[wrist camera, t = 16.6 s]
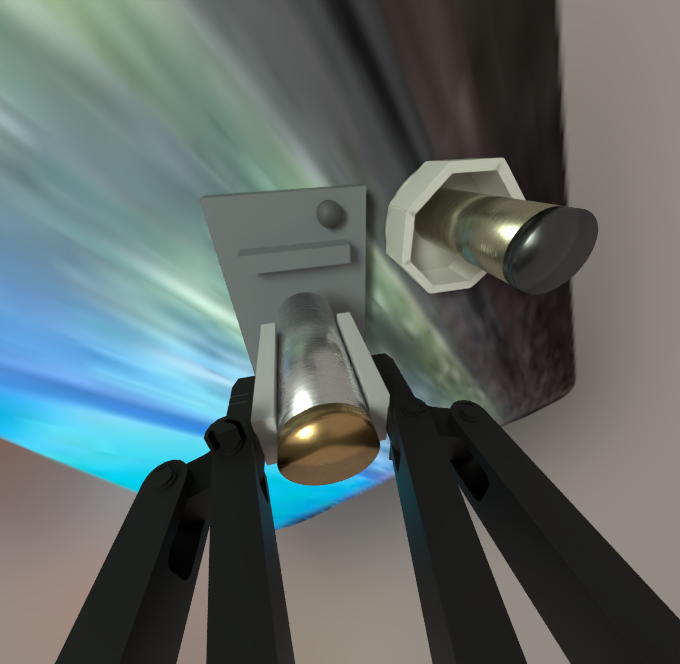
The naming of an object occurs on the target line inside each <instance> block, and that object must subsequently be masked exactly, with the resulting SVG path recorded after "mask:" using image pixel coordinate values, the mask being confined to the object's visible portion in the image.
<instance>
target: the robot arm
mask: <svg viewBox="0 0 680 664" xmlns="http://www.w3.org/2000/svg"><path fill="white" fill-rule="evenodd" d="M337 326H338V329H339V332H340V334H341V337H342V340H343V343H344V345H345V348H346V351H347V353H348V356H349V359H350V362H351V364H352V367H353V370H354V372H355V375H356V378H357V381H358V383H359V386H360V389H361V391H362V394H363V397H364V400H365V402H366V405H367V408H368V410H369V413H370V416H371V419H372V421H373V424H374V427H375V429H376V432H377V435H378V438H379V441H381V440H386V435H387V434H388V436H389V438H390V441H391V443H390V453H389V460H392V461H393V466H394V471H395V476H396V481H397V485H398V491H399V496H400V501H401V506H402V511H403V516H404V521H405V526H406V531H407V536H408V542H409V547H410V552H411V557H412V562H413V566H414V572H415V577H416V581H417V587H418V592H419V597H420V602H421V607H422V612H423V617H424V622H425V627H426V632H427V637H428V642H429V647H430V653H431V658H432V663H433V664H527V662H526V660H525V657H524V654H523V652H522V649H521V647H520V644H519V641H518V639H517V636H516V634H515V631H514V628H513V626H512V623H511V621H510V618H509V616H508V613H507V610H506V608H505V605H504V603H503V600H502V598H501V595H500V592H499V590H498V587H497V585H496V582H495V579H494V577H493V574H492V571H491V569H490V566H489V564H488V561H487V559H486V556H485V553H484V551H483V548H482V546H481V544H480V540H479V538H478V535H477V533H476V530H475V527H474V525H473V522H472V520H471V517H470V515H469V512H468V509H467V507H466V504H465V502H464V499H463V496H462V494H461V491H460V489H459V487H460V488H461V490H462V492H463V493H464V495H465V496H466V498H467V499H468V501H469V503H470V504H471V506H472V507H473V509H474V510H475V512H476V514H477V515H478V517H479V519H480V520H481V521H482V523H483V525H484V526H485V528H486V530H487V531H488V533H489V534H490V536H491V538H492V539H493V541H494V542H495V544H496V546H497V547H498V549H499V550H500V552H501V554H502V555H503V557H504V558H505V560H506V561H507V563H508V565H509V566H510V568H511V570H512V571H513V573H514V574H515V576H516V578H517V579H518V581H519V582H520V584H521V585H522V587H523V589H524V590H525V592H526V593H527V595H528V597H529V598H530V600H531V601H532V603H533V605H534V606H535V608H536V609H537V611H538V613H539V614H540V616H541V617H542V619H543V621H544V622H545V624H546V625H547V626H548V628H549V630H550V631H551V633H552V635H553V636H554V638H555V640H556V641H557V643H558V644H559V646H560V647H561V649H562V651H563V652H564V654H565V655H566V657H567V659H568V660H569V662H570V663H571V664H680V619H679V618H678V617H677V616H676V615H675V614H674V613H673V612H672V611H671V610H670V609H669V607H668V606H667V605H666V604H665V603H664V602H663V601H662V600H661V599H660V598H659V597H658V596H657V595H656V594H655V593H654V591H653V590H652V589H651V588H650V587H649V586H648V585H647V584H646V583H645V582H644V581H643V580H642V579H641V577H640V576H639V575H638V574H637V573H636V572H635V571H634V570H633V569H632V568H631V567H630V566H629V565H628V563H627V562H626V561H625V560H624V559H623V558H622V557H621V556H620V555H619V554H618V553H617V552H616V551H615V549H614V548H613V547H612V546H611V545H610V544H609V543H608V542H607V541H606V540H605V539H604V538H603V537H602V535H601V534H600V533H599V532H598V531H597V530H596V529H595V528H594V527H593V526H592V525H591V524H590V523H589V521H588V520H587V519H586V518H585V517H584V516H583V515H582V514H581V513H580V512H579V511H578V510H577V509H576V508H575V506H574V505H573V504H572V503H571V502H570V501H569V500H568V499H567V498H566V497H565V496H564V495H563V494H562V492H560V490H559V489H558V488H557V487H556V486H555V485H554V484H553V483H552V482H551V481H550V480H549V479H548V477H547V476H546V475H545V474H544V473H543V472H542V471H541V470H540V469H539V468H538V467H537V466H536V465H535V463H534V462H533V461H532V460H531V459H530V458H529V457H528V456H527V455H526V454H525V453H524V452H523V451H522V449H521V448H520V447H519V446H518V445H517V444H516V443H515V442H514V441H513V440H512V439H511V438H510V437H509V435H508V434H507V433H506V432H505V431H504V430H503V429H502V428H501V427H500V426H499V425H498V424H497V423H496V421H495V420H494V419H493V418H492V417H491V416H490V415H489V414H488V413H487V412H486V411H485V410H484V409H483V408H482V407H481V406H479V405H478V404H476V403H474V402H471V401H466V400H461V401H457V402H455V403H453V404H452V406H451V408H438V407H431V406H428V405H426V404H425V403H424V402H423V401H422V400H420V399H418V398H416V397H415V396H414V394H413V393H412V391H411V389H410V388H409V386H408V384H407V383H406V381H405V379H404V378H403V376H402V374H401V373H400V371H399V369H398V368H397V366H396V364H395V362H394V361H393V359H392V358H391V357H389V356H388V355H387V354H385V353H383V354H377V355H370V353H369V351H368V349H367V347H366V345H365V343H364V341H363V339H362V337H361V335H360V333H359V331H358V329H357V326H356V324H355V322H354V320H353V318H352V316H351V314H350V312H346V313H339V314H337ZM230 397H231V398H230V401H229V406H228V411H227V416H225V417H222V418H220V419H218V420H216V421H215V422H214V423H213V424H211V425H210V427H209V428H208V429H207V431H206V433H205V436H204V440H205V441H206V443H207V445H208V447H209V449H210V450H211V451H210V452H208V453H207V454H205V455H203V456H201V457H199V458H197V459H195V460H193V461H191V462H189V463H187V464H186V463H184V462H183V461H181V460H171V461H167V462H164V463H163V464H161V465H159V466H158V467H156V468H155V469H154V470H153V471H152V472H151V473H150V474H149V475H148V476H147V477H146V479H145V480H144V482H143V483H142V486H141V488H140V490H139V492H138V494H137V496H136V498H135V500H134V502H133V504H132V506H131V508H130V510H129V512H128V514H127V516H126V519H125V521H124V523H123V525H122V527H121V529H120V531H119V533H118V535H117V537H116V539H115V541H114V543H113V545H112V547H111V549H110V552H109V553H108V556H107V558H106V560H105V562H104V564H103V566H102V568H101V570H100V572H99V574H98V576H97V578H96V580H95V582H94V585H93V586H92V589H91V591H90V593H89V595H88V597H87V599H86V601H85V603H84V605H83V607H82V609H81V611H80V613H79V615H78V617H77V619H76V621H75V623H74V626H73V627H72V630H71V632H70V634H69V636H68V638H67V640H66V642H65V644H64V646H63V648H62V650H61V652H60V654H59V656H58V659H57V661H56V662H55V664H176V662H177V658H178V654H179V650H180V645H181V642H182V638H183V634H184V630H185V625H186V621H187V617H188V613H189V609H190V605H191V601H192V597H193V593H194V588H195V584H196V580H197V576H198V571H199V567H200V563H201V560H202V555H203V551H204V547H205V543H206V539H207V534H208V531H209V527H210V548H209V584H208V586H209V587H208V622H207V660H206V661H207V662H206V663H207V664H295V660H294V653H293V647H292V641H291V634H290V628H289V621H288V614H287V608H286V601H285V594H284V588H283V581H282V575H281V568H280V562H279V555H278V549H277V542H276V535H275V529H274V522H273V516H272V509H271V503H270V496H269V490H268V483H267V477H266V475H265V472H264V464H265V461H266V464H267V465H271V464H276V463H277V433H278V334H277V329H276V325H275V323H269V324H262V325H261V331H260V340H259V349H258V359H257V368H256V376H251V377H245V378H239V379H238V380H237V382H236V383H235V384H234V386H233V387H232V391H231V396H230ZM458 485H459V486H458Z"/></svg>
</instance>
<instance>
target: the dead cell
mask: <svg viewBox="0 0 680 664" xmlns="http://www.w3.org/2000/svg"><path fill="white" fill-rule="evenodd" d="M414 227H415V230H416V232H417V234H418V235H419V236H420V237H421V238H423V239H425V240H427V241H428V242H430V243H432V244H434V245H436V246H438V247H440V248H442V249H444V250H446V251H447V252H449V253H451V254H453V255H455V256H457V257H459V258H461V259H463V260H465V261H466V262H468V263H470V264H472V265H474V266H476V267H478V268H480V269H482V270H483V271H485V272H487V273H489V274H491V275H493V276H495V277H497V278H499V279H501V280H502V281H504V282H506V283H508V284H510V285H512V286H514V287H516V288H518V289H519V290H521V291H523V292H525V293H528V294H534V295H537V294H543V293H547V292H550V291H552V290H554V289H556V288H558V287H559V286H561V285H562V284H564V283H565V282H567V281H568V280H569V279H570V278H571V277H573V276H574V275H575V274H576V272H578V270H579V269H580V268H581V267H582V266H583V264H584V263H585V262H586V260H587V259H588V257H589V255H590V254H591V252H592V250H593V247H594V245H595V242H596V239H597V234H598V224H597V220H596V218H595V216H594V215H593V214H592V213H591V212H589V211H588V210H585V209H579V208H572V207H566V206H559V205H553V204H546V203H540V202H533V201H527V200H520V199H514V198H507V197H501V196H494V195H488V194H481V193H475V192H468V191H462V190H455V189H449V188H439V189H438V190H437V191H436V192H435V193H434V194H433V195H432V196H431V198H430V199H429V200H428V201H427V202H426V203H425V204H424V205H423V206H422V208H421V209H420V210H419V211H418V212H417V213H416V214H415V220H414Z"/></svg>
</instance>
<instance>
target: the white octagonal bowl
mask: <svg viewBox="0 0 680 664" xmlns="http://www.w3.org/2000/svg"><path fill="white" fill-rule="evenodd" d="M439 188H449V189H455V190H462V191H468V192H475V193H481V194H488V195H494V196H501V197H507V198H514V199H520V200H525V198H524V196H523V194H522V192H521V190H520V188H519V186H518V184H517V182H516V180H515V178H514V176H513V174H512V172H511V170H510V168H509V166H508V164H507V163H506V161H505V159H504V158H470V159H454V160H438V161H426V162H424V164H423V165H422V166H421V167H420V168H419V169H418V170H417V171H415V172H414V173H413V174H411V175H410V176H409V177H408V178H407V179H406V180H405V181H404V182H403V184H402V185H401V186H400V188H399V189H398V190H397V192H396V194H395V195H394V197H393V199H392V201H391V202H390V203H389V204H390V205H389V207H388V212H387V215H386V220H385V242H386V254H387V255H388V256H390V257H391V258H392V259H393V260H394V261H395V263H396V264H397V265H398V266H400V267H401V268H402V269H403V270H404V271H405V272H406V273H407V274H408V275H409V276H410V277H411V278H412V279H413V280H414V281H415V282H416V283H418V284H419V285H420V286H421V287H422V288H423V289H425V290H426V291H427V292H428V293H438V292H445V291H452V290H459V289H466V288H470V287H472V286H473V285H475V284H476V283H477V282H478V281H479V280H480V279H481V278H482V277H483V276H484V275H485V274H486V273H487V272H485V271H483V270H482V269H480V268H478V267H476V266H474V265H472V264H470V263H468V262H466V261H465V260H463V259H461V258H459V257H457V256H455V255H453V254H451V253H449V252H447V251H446V250H444V249H442V248H440V247H438V246H436V245H434V244H432V243H430V242H428V241H427V240H425V239H423V238H421V237H420V236H419V235H418V234H417V232H416V230H415V227H414V220H415V214H416V213H417V212H418V211H419V210H420V209H421V208H422V206H423V205H424V204H425V203H426V202H427V201H428V200H429V199H430V198H431V196H432V195H433V194H434V193H435V192H436V191H437V190H438V189H439Z"/></svg>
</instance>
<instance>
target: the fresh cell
mask: <svg viewBox="0 0 680 664" xmlns="http://www.w3.org/2000/svg"><path fill="white" fill-rule="evenodd" d="M379 449H380V441H379V438H378V435H377V432H376V429H375V427H374V424H373V421H372V419H371V416H370V413H369V410H368V408H367V405H366V402H365V400H364V397H363V394H362V391H361V389H360V386H359V383H358V381H357V378H356V375H355V372H354V370H353V367H352V364H351V362H350V359H349V356H348V353H347V351H346V348H345V345H344V343H343V340H342V337H341V334H340V332H339V329H338V326H337V324H336V321H335V318H334V315H333V313H332V310H331V307H330V305H329V304H328V302H327V301H326V300H325V299H324V298H323V297H321V296H319V295H317V294H314V293H309V292H303V293H297V294H294V295H292V296H290V297H289V298H287V299H286V300H285V301H284V302H283V303H282V305H281V306H280V309H279V312H278V433H277V466H278V469H279V471H280V473H281V474H282V475H283V476H284V477H285V478H286V479H288V480H290V481H292V482H294V483H298V484H303V485H326V484H332V483H336V482H340V481H343V480H345V479H348V478H350V477H352V476H354V475H356V474H358V473H360V472H361V471H363V470H364V469H365V468H367V467H368V466H369V465H370V464H371V463H372V462H373V461H374V459H375V458H376V456H377V454H378V452H379Z"/></svg>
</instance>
